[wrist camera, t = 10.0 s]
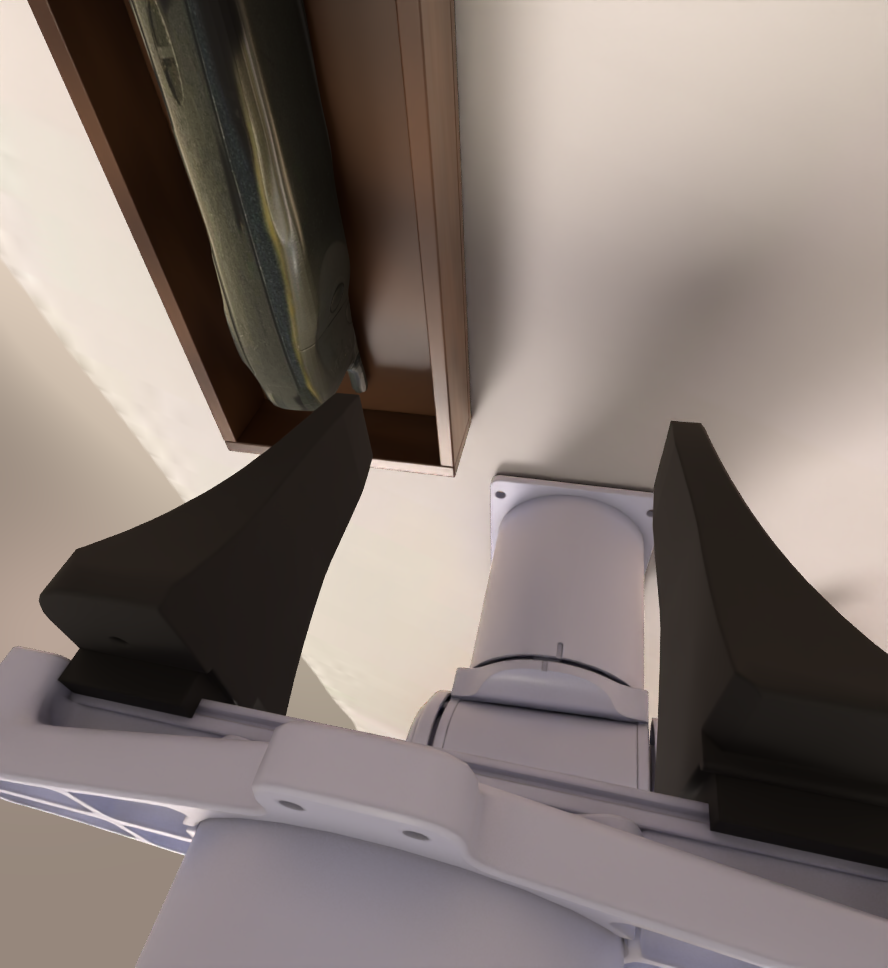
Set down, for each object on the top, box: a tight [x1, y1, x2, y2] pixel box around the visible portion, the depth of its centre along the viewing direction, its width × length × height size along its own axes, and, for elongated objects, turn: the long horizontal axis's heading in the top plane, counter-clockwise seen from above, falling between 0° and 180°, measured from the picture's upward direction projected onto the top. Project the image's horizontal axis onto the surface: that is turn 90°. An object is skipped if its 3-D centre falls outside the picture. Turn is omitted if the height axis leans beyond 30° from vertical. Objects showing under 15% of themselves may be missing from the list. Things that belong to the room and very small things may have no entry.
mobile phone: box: [129, 0, 368, 411], centre depth 19 cm, size 5×3×15 cm
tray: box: [27, 0, 471, 477], centre depth 19 cm, size 19×10×4 cm, turn 3°
